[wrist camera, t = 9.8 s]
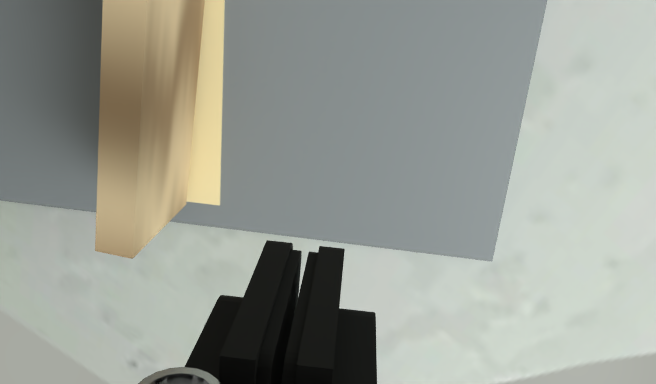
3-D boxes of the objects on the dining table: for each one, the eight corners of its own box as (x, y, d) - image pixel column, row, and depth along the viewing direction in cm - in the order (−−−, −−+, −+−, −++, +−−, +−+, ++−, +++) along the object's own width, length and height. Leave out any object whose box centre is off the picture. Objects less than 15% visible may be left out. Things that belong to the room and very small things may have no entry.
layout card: (-35, 192, 23) (-42, 196, 23) (-92, -197, 18) (-102, -201, 18) (490, 257, 22) (492, 262, 21) (575, -148, 17) (579, -151, 17)
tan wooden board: (168, -150, 17) (88, -206, 13) (229, -139, 17) (171, -192, 13) (146, 196, 21) (79, 251, 17) (196, 206, 21) (142, 264, 17)
